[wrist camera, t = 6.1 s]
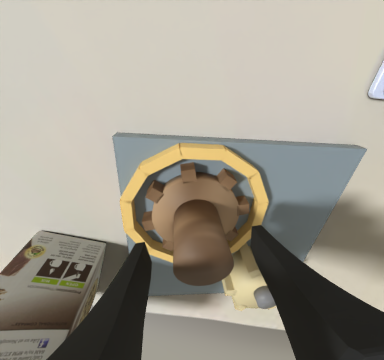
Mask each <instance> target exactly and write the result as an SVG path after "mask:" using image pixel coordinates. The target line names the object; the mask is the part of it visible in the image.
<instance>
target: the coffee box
mask: <svg viewBox="0 0 384 360" xmlns="http://www.w3.org/2000/svg"><path fill="white" fill-rule="evenodd" d="M105 249H106V243H103V242H97V241H92V240H86V239H81V238H76V237H71V236H65V235H60V234H54V233H49V232H44V231H39V232H37V233H36V234H35V235H34V236H33V237H32V239H31V240H30V241H29V242H28V243H27V244H26V245H25V246H24V247H23V249H22V250H21V251H20V252H19V253H18V254H17V255H16V256H15V257H14V258H13V260H12V261H11V262H10V263H9V264H8V265H7V266H6V267H5V268H4V269H3V270H2V272H1V273H0V360H46V359H47V358H48V357H49V356H50V355H51V354H52V353H53V352H54V351H55V350H56V349H57V348H58V347H59V346H60V345H61V344H62V343H63V342H64V341H65V339H66V338H67V337H68V336H69V335H70V334H71V333H72V332H73V331H74V330H75V329H76V327H77V326H78V325H79V324H80V323H81V322H82V321H83V319H84V318H85V317H86V316H87V315H88V313H89V311H90V308H91V306H92V303H93V300H94V298H95V295H96V292H97V288H98V283H99V279H100V274H101V269H102V264H103V259H104V254H105Z"/></svg>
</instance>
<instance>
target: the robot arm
mask: <svg viewBox="0 0 384 360" xmlns="http://www.w3.org/2000/svg"><path fill="white" fill-rule="evenodd" d="M383 91H384V61H383V63H382V65H381V67H380V69H379V71H378V73H377V75H376V77H375V79H374V81H373V83H372V85H371V87H370V89H369V92H368V96H369V97H370V98H376V99H384V92H383ZM250 247H251V250H252V253H253V256H254V259H255V262H256V264H257V266H258V268H259V270H260V272H261V274H262V276H263V278H264V280H265V283H266V285H267V287H268V289H269V291H270V293H271V295H272V297H273V299H274V301H275V304H276V306H277V309H278V311H279V314H280V317H281V319H282V322H283V324H284V327H285V330H286V333H287V335H288V338H289V341H290V343H291V346H292V349H293V352H294V355H295V358H296V360H384V312H382V311H380V310H378V309H376V308H374V307H373V306H371V305H369V304H367V303H365V302H364V301H362V300H360V299H358V298H356V297H355V296H353V295H351V294H350V293H348V292H346V291H345V290H343V289H342V288H340V287H338V286H337V285H335V284H333V283H332V282H330V281H329V280H327V279H326V278H324V277H323V276H321V275H320V274H318V273H317V272H316V271H314V270H313V269H311V268H310V267H309V266H307V265H306V264H305V263H303V262H302V261H301V260H300V259H298V258H297V257H296V256H295V255H294V254H292V253H291V252H290V251H289V250H288V249H286V248H285V247H284V246H283V245H282V244H281V243H280V242H279V241H277V240H276V239H275V238H274V237H273V236H272V235H271V234H270V233H269V232H268V231H267V230H266V229H265V228H264V227H263V226H261V225H257V226H252V230H251V246H250ZM151 271H152V261H151V258H150V255H149V252H148V249H147V247H146V244H145V242H141V243H136V244H135V245H134V247H133V248H132V250H131V252H130V254H129V255H128V257H127V259H126V260H125V262H124V264H123V265H122V267H121V269H120V270H119V272H118V274H117V275H116V277H115V278H114V280H113V281H112V283H111V284H110V285H109V287H108V288H107V290H106V291H105V293H104V294H103V295H102V297H101V298H100V299H99V301H98V302H97V303H96V305H95V306H94V307H93V308H92V310H91V311H90V312H89V313H88V315H87V316H86V317H85V318H84V319H83V321H82V322H81V323H80V324H79V325H78V326H77V327H76V329H75V330H74V331H73V332H72V333H71V334H70V335H69V336H68V337H67V338H66V339H65V341H64V342H63V343H62V344H61V345H60V346H59V347H58V348H57V349H56V350H55V351H54V352H53V353H52V354H51V355H50V356H49V357H48V358H47V359H46V360H141V353H142V340H143V327H144V319H145V312H146V306H147V300H148V294H149V288H150V281H151Z"/></svg>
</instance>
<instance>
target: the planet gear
mask: <svg viewBox="0 0 384 360" xmlns="http://www.w3.org/2000/svg"><path fill="white" fill-rule="evenodd" d="M180 168H181V175H178V176H176V177H174V178H172V179H171V180H169V181H168V182H166V183H165V184H164V185H163V184H161V183H159V182H158V181H156V180H154V181H153V182H152V183H151V185H150V186H149V188H148V189H147V193H146V197H145V198H147V199H149V200H151V201H153V202H154V205H153V210H152V211H148V212H144V214H143V218H142V224H143V227H144V229H145V231H148V230H154V229H155V230H156V231H157V233H158V234H159V235H160V236H161V237H162V238H163V243H162V247H163V248H165V249H167V250H170V251H172V250H173V273H174V275H175V277H176V278H177V279H178V280H179V281H181V282H183V283H185V284H188V285H192V286H206V285H211V284H214V283H217V282H219V281H221V280H223V279H224V278H226V277H227V276H228V275H229V274H230V273H231V271H232V270H233V267H234V260H233V257H232V254H231V251H230V247H229V244H228V241H227V240H229V241H232V240H233V239H234V238H235V237H236V236H238V235H239V234H238V232H237V229H236V227H235V225H236V223H237V221H238V218H239V215H244V214H249V203H248V201H247V199H246V197H245V196H238V197H235V195H234V193H233V191H232V189H231V188H232V187H233V186H234V185H235V184H236V183H237V181H236V179H235V177H234V176H233V174H231V173H230V172H228V171H227V170H226V169H224V168H223V169H222V170H221V171H220V173H219V174H218V175H217V176H215V175H213V174H209V173H204V172H195V166H194V162H191V163H185V164H180Z"/></svg>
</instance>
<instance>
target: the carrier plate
mask: <svg viewBox="0 0 384 360" xmlns="http://www.w3.org/2000/svg"><path fill="white" fill-rule="evenodd" d="M113 143H114V151H115V158H116V165H117V172H118V179H119V186H120V193H121V198H120V206H121V213H122V220H123V227H124V231H125V233H126V236H127V243H128V250H129V254H130V252H131V250H132V248H133V247H134V245H135V244H136V243H141V242H145V244H146V247H147V249H148V252H149V255H150V258H151V261H152V271H151V281H150V288H149V294H148V296H161V295H186V294H210V293H225V296H232V299H233V303H234V306H235V309H236V310H240V311H242V310H244V309H245V308H262V309H268V310H269V309H272V308H275V307H276V304H275V301H274V299H273V297H272V295H271V293H270V291H269V289H268V287H267V285H266V283H265V280H264V278H263V276H262V274H261V272H260V270H259V268H258V266H257V264H256V262H255V259H254V256H253V253H252V250H251V247H250V246H251V230H252V226H257V225H261V226H263V227H264V228H265V229H266V230H267V231H268V232H269V233H270V234H271V235H272V236H273V237H274V238H275V239H276V240H277V241H279V242H280V243H281V244H282V245H283V246H284V247H285V248H286V249H288V250H289V251H290V252H291V253H292V254H294V255H295V256H296V257H297V258H298V259H300V260H301V261H302V262H303V261H304V259H305V257H306V256H307V254H308V252H309V250H310V249H311V247H312V245H313V243H314V242H315V240H316V238H317V236H318V235H319V233H320V231H321V229H322V228H323V226H324V224H325V222H326V221H327V219H328V217H329V215H330V214H331V212H332V210H333V208H334V207H335V205H336V203H337V201H338V200H339V198H340V196H341V194H342V193H343V191H344V189H345V187H346V185H347V184H348V182H349V180H350V178H351V177H352V175H353V173H354V171H355V170H356V168H357V166H358V164H359V163H360V161H361V159H362V157H363V156H364V154H365V152H366V150H367V149H365V148H362V147H360V146H357V145H344V144H325V143H306V142H286V141H267V140H248V139H229V138H210V137H190V136H171V135H152V134H133V133H116V134H115V135H114V136H113ZM191 162H194V166H195V172H204V173H209V174H213V175H215V176H217V175H218V174H219V173H220V171H221V170H222V169H223V168H224V169H226V170H227V171H228V172H230V173H231V174H233V176H234V177H235V179H236V181H237V183H236V184H235V185H234V186H233V187H232V188H231V189H232V191H233V193H234V195H235V197H238V196H245V197H246V199H247V201H248V203H249V214H244V215H239V218H238V221H237V223H236V225H235V227H236V229H237V232H238V234H239V235H238V236H236V237H235V238H234V239H233V240H232V241H229V240H227V241H228V244H229V247H230V251H231V254H232V257H233V260H234V267H233V270H232V271H231V273H230V274H229V275H228V276H227V277H226V278H224V279H223V280H221V281H219V282H217V283H214V284H211V285H206V286H192V285H188V284H185V283H183V282H181V281H179V280H178V279H177V278H176V277H175V275H174V273H173V250H172V251H170V250H167V249H165V248H163V247H162V243H163V238H162V237H161V236H160V235H159V234H158V233H157V231H156V230H155V229H154V230H148V231H145V229H144V227H143V224H142V218H143V214H144V212H148V211H152V210H153V205H154V202H153V201H151V200H149V199H147V198H145V197H146V193H147V189H148V188H149V186H150V185H151V183H152V182H153V181H154V180H156V181H158V182H159V183H161V184H163V185H164V184H165V183H166V182H168V181H169V180H171V179H172V178H174V177H176V176H178V175H181V168H180V164H185V163H191Z"/></svg>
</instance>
